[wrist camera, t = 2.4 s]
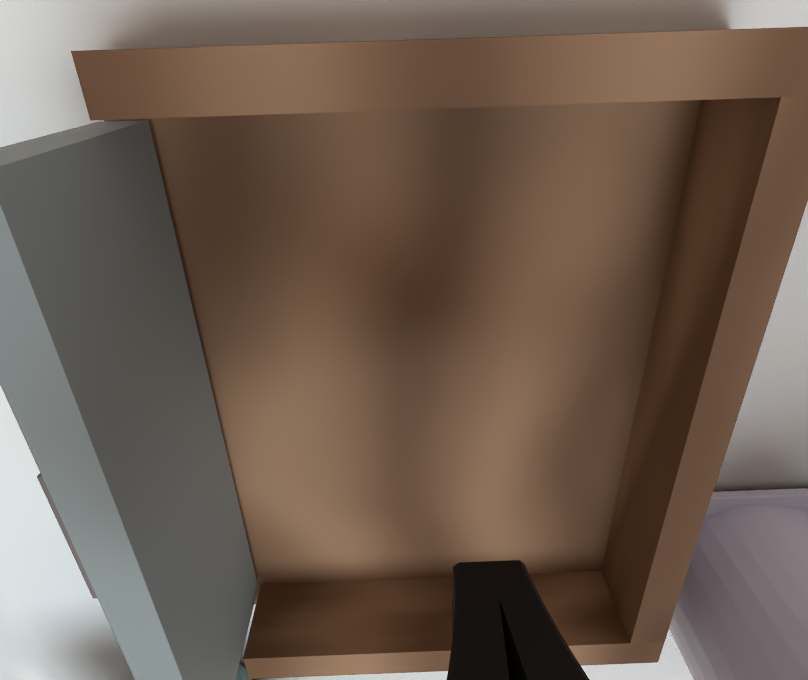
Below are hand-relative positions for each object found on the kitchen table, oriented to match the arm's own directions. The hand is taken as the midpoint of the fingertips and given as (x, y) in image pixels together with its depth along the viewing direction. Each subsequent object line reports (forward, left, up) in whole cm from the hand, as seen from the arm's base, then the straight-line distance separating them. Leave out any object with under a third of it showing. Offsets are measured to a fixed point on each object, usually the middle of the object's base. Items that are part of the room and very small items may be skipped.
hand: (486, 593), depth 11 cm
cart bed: (+1, 0, -9) cm, 9 cm away
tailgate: (+9, 0, -7) cm, 11 cm away
